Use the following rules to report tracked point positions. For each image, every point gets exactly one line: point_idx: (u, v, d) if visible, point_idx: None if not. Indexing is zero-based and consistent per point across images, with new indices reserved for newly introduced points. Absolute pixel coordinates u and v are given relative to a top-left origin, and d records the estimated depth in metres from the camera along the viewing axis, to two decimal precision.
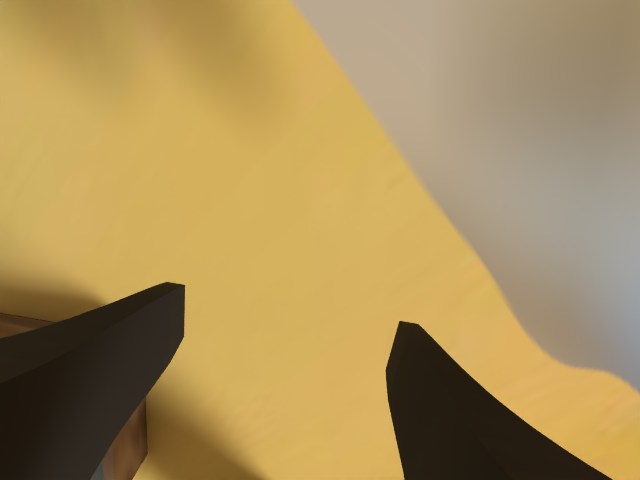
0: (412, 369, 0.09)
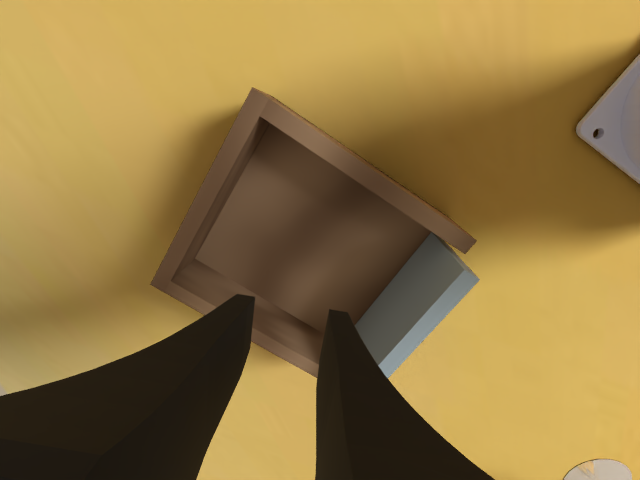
0: (328, 355, 0.09)
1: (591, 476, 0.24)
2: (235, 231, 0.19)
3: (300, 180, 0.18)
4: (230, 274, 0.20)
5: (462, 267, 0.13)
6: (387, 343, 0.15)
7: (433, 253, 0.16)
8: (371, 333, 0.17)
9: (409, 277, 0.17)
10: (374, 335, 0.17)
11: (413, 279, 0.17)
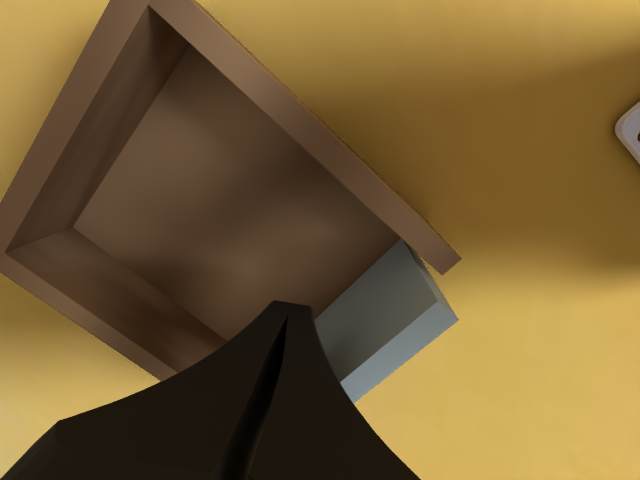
0: (284, 348, 0.09)
1: None
2: (131, 196, 0.13)
3: (229, 137, 0.12)
4: (122, 256, 0.14)
5: (435, 297, 0.09)
6: None
7: (397, 267, 0.11)
8: None
9: (361, 296, 0.12)
10: None
11: (365, 300, 0.12)
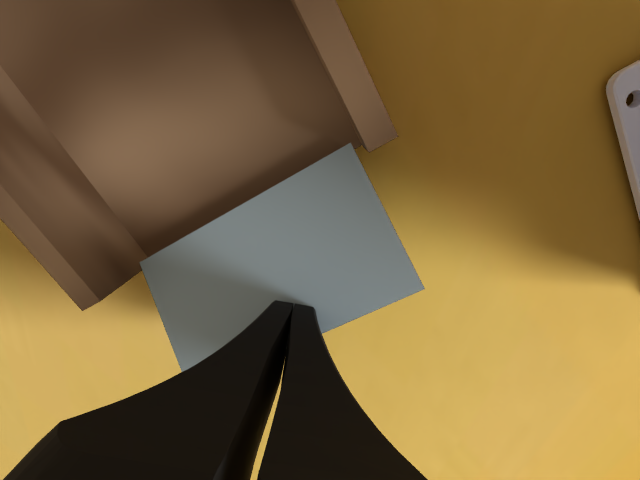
0: (287, 348, 0.09)
1: None
2: None
3: None
4: None
5: (419, 280, 0.10)
6: None
7: (358, 204, 0.10)
8: (225, 291, 0.11)
9: (304, 222, 0.10)
10: (235, 299, 0.11)
11: (315, 234, 0.10)
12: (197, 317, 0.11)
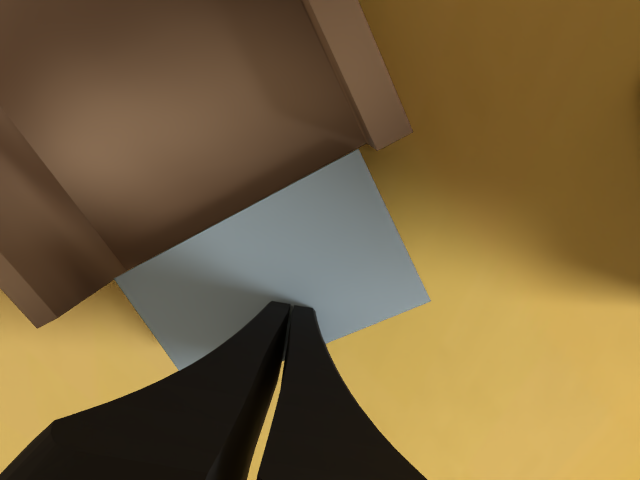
0: (287, 348, 0.09)
1: None
2: None
3: None
4: None
5: (426, 293, 0.10)
6: None
7: (366, 219, 0.09)
8: (223, 306, 0.10)
9: (306, 237, 0.10)
10: (235, 314, 0.11)
11: (319, 250, 0.10)
12: (194, 331, 0.11)
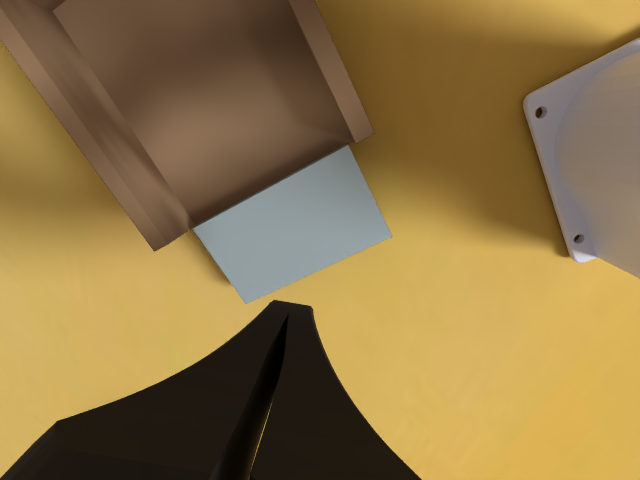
0: (284, 348, 0.09)
1: None
2: (119, 2, 0.14)
3: None
4: (90, 58, 0.15)
5: (389, 231, 0.16)
6: (299, 267, 0.17)
7: (353, 187, 0.15)
8: (264, 244, 0.17)
9: (317, 199, 0.16)
10: (271, 249, 0.17)
11: (325, 206, 0.16)
12: (245, 261, 0.17)
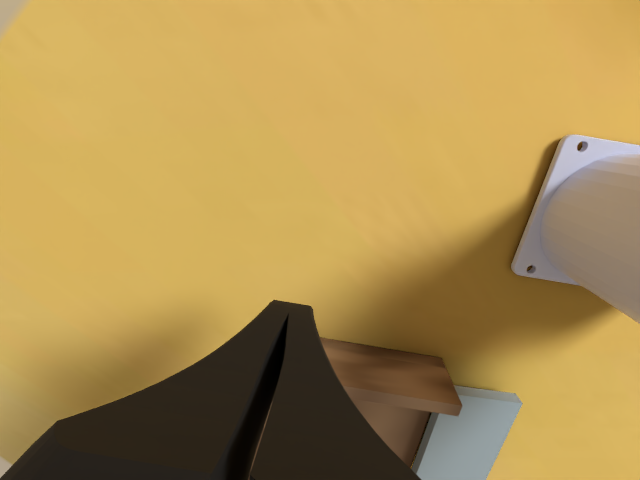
0: (284, 348, 0.09)
1: None
2: None
3: None
4: None
5: (517, 402, 0.21)
6: (487, 457, 0.22)
7: (471, 404, 0.21)
8: (455, 464, 0.23)
9: (458, 425, 0.21)
10: (462, 462, 0.23)
11: (467, 424, 0.21)
12: (454, 478, 0.23)
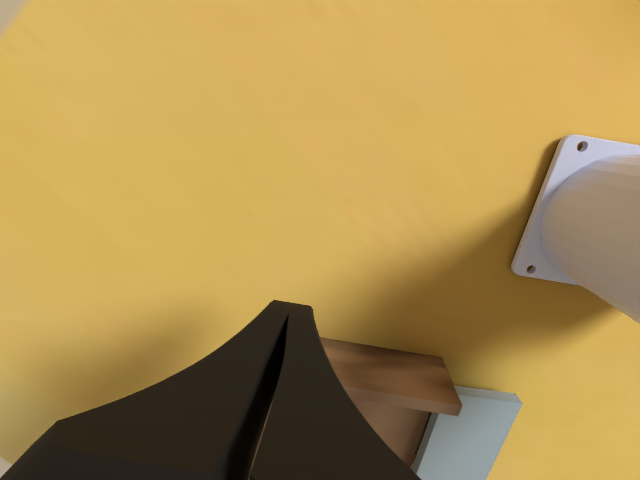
0: (284, 348, 0.09)
1: None
2: None
3: None
4: None
5: (517, 402, 0.21)
6: (487, 457, 0.22)
7: (471, 404, 0.21)
8: (455, 464, 0.23)
9: (458, 425, 0.21)
10: (462, 462, 0.23)
11: (467, 424, 0.21)
12: (454, 478, 0.23)
